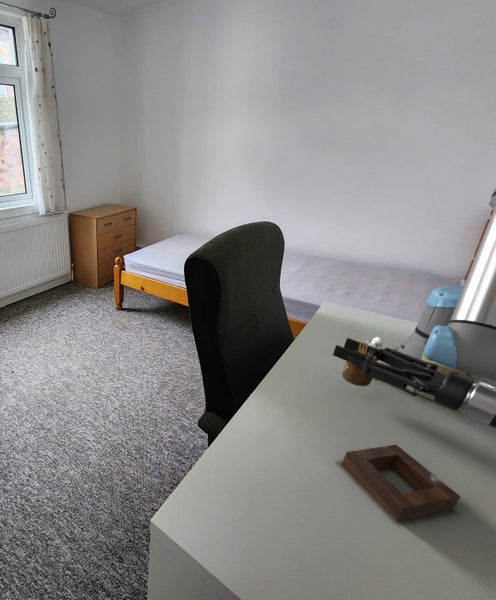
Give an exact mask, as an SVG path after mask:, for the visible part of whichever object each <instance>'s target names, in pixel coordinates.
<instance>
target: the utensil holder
mask: <svg viewBox="0 0 496 600" xmlns="http://www.w3.org/2000/svg"><path fill="white" fill-rule="evenodd" d="M373 339H374V338H372V339H370V338H369V339H368V341H366V343H365V342H363V341H359V342H360V345H359V349H358V351H354V352H356V353H359V354H361V355H364V356H366V357H370V359H369V360H372V361H375V362H378V361H377V359H376V357H375V356H373V354H374V353H375V352H374V353H373V354H372V355H371V354H369V353H370V352H369V353H367V352H366V351H367V347H368V344H369V343H368V342H370V343H372V340H373ZM374 341H376V340H374ZM376 342H377V341H376ZM362 343H363V346H362V349H361V345H362ZM377 344H378V343H377ZM365 345H366V348H364V347H365ZM377 346H378V345H377ZM377 346H376V347H377ZM369 347H370V346H369ZM374 347H375V346H374ZM364 349H365V350H364ZM368 349H369V348H368ZM371 349H372V348H371ZM373 349H374V348H373ZM376 349H377V348H376ZM370 351H371V350H370ZM374 351H375V350H374ZM371 353H372V352H371ZM362 372H363V369H362V367H360V366H358V365H355V364H353V363H350V362H348V361H346V360H345V364H344V367H343V370H342V374H341V375H342V378H343V379H344V380H345V381H346V382H348V383H349V384H352V385H354V386H357V387H367V386H370V384H371V383H372V381H373V378H372V377H370V376H367V375H365V374H363V373H362Z"/></svg>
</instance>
